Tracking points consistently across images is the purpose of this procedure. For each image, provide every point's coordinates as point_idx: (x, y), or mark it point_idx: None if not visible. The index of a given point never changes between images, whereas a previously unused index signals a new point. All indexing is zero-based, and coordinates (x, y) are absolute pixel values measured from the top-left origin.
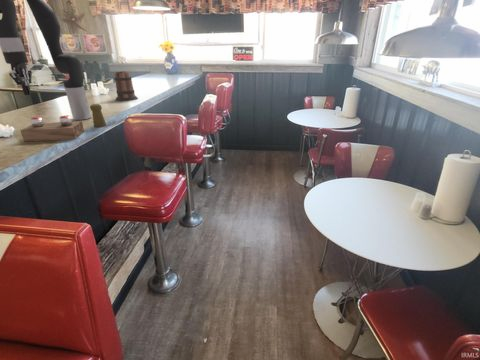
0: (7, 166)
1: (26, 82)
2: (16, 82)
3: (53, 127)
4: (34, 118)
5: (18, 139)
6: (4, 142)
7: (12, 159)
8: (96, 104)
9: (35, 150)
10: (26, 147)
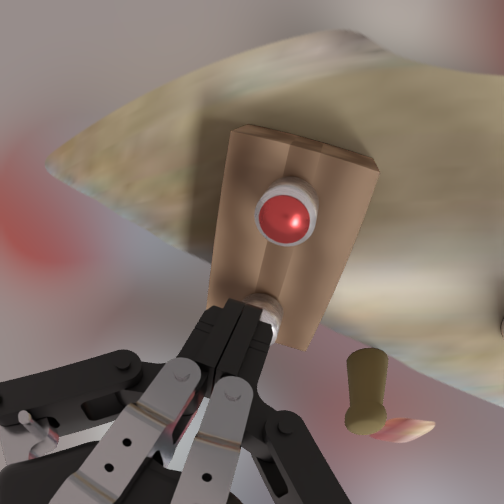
0: (47, 162)
1: (180, 423)
2: (87, 365)
3: (233, 264)
4: (263, 217)
5: (302, 88)
6: (271, 43)
7: (76, 154)
8: (355, 431)
9: (127, 192)
10: (163, 155)
